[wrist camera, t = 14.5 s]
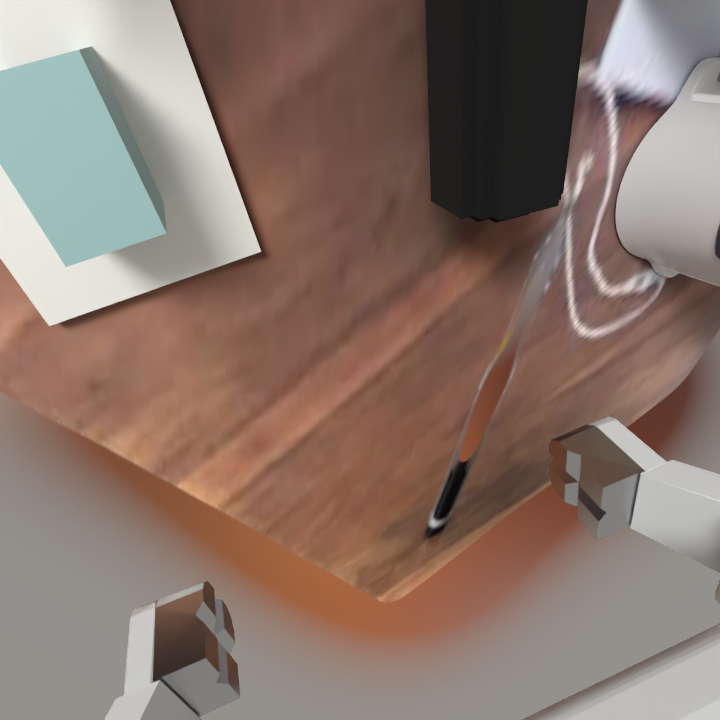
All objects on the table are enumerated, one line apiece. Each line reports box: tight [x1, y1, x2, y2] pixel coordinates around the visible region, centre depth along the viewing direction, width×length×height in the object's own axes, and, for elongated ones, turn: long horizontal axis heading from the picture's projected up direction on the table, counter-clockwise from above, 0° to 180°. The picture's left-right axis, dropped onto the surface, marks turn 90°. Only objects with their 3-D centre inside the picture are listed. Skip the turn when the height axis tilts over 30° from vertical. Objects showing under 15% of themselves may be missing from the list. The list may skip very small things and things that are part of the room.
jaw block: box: [0, 46, 167, 267], centre depth 24 cm, size 5×8×6 cm, turn 14°
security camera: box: [426, 0, 588, 222], centre depth 27 cm, size 7×18×10 cm, turn 8°
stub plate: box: [0, 0, 261, 326], centre depth 26 cm, size 14×18×4 cm
